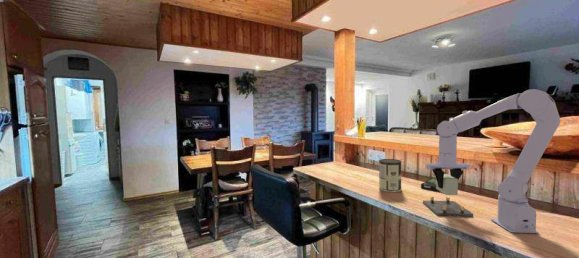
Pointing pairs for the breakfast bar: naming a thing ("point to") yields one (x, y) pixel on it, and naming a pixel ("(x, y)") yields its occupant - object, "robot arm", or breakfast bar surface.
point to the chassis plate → (447, 208)
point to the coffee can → (390, 175)
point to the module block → (448, 185)
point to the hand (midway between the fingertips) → (446, 187)
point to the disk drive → (430, 185)
